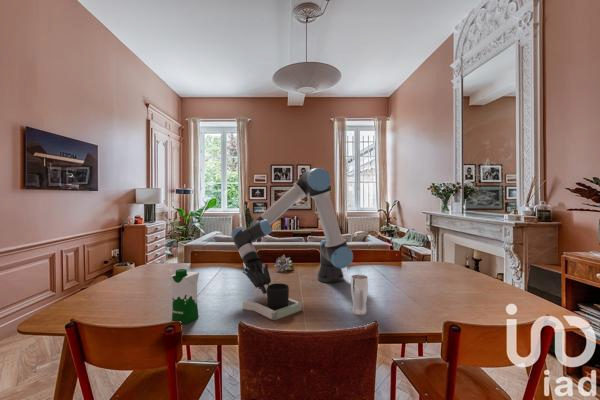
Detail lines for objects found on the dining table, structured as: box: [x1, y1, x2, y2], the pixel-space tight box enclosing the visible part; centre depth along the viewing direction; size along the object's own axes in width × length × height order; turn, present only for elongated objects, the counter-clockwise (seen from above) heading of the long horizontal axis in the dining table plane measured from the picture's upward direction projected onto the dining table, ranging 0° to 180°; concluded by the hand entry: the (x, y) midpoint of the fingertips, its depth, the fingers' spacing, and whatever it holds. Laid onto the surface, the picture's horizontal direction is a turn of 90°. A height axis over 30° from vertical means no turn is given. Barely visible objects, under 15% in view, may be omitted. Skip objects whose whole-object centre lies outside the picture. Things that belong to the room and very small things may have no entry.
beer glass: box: [350, 274, 369, 317], centre depth 121 cm, size 7×7×15 cm
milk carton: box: [169, 268, 200, 325], centre depth 115 cm, size 9×9×20 cm
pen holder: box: [266, 282, 290, 311], centre depth 124 cm, size 9×9×10 cm
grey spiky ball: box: [273, 254, 295, 273], centre depth 191 cm, size 11×11×12 cm
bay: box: [242, 297, 303, 321], centre depth 126 cm, size 19×20×3 cm
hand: (270, 299), depth 127 cm, fingers closed
